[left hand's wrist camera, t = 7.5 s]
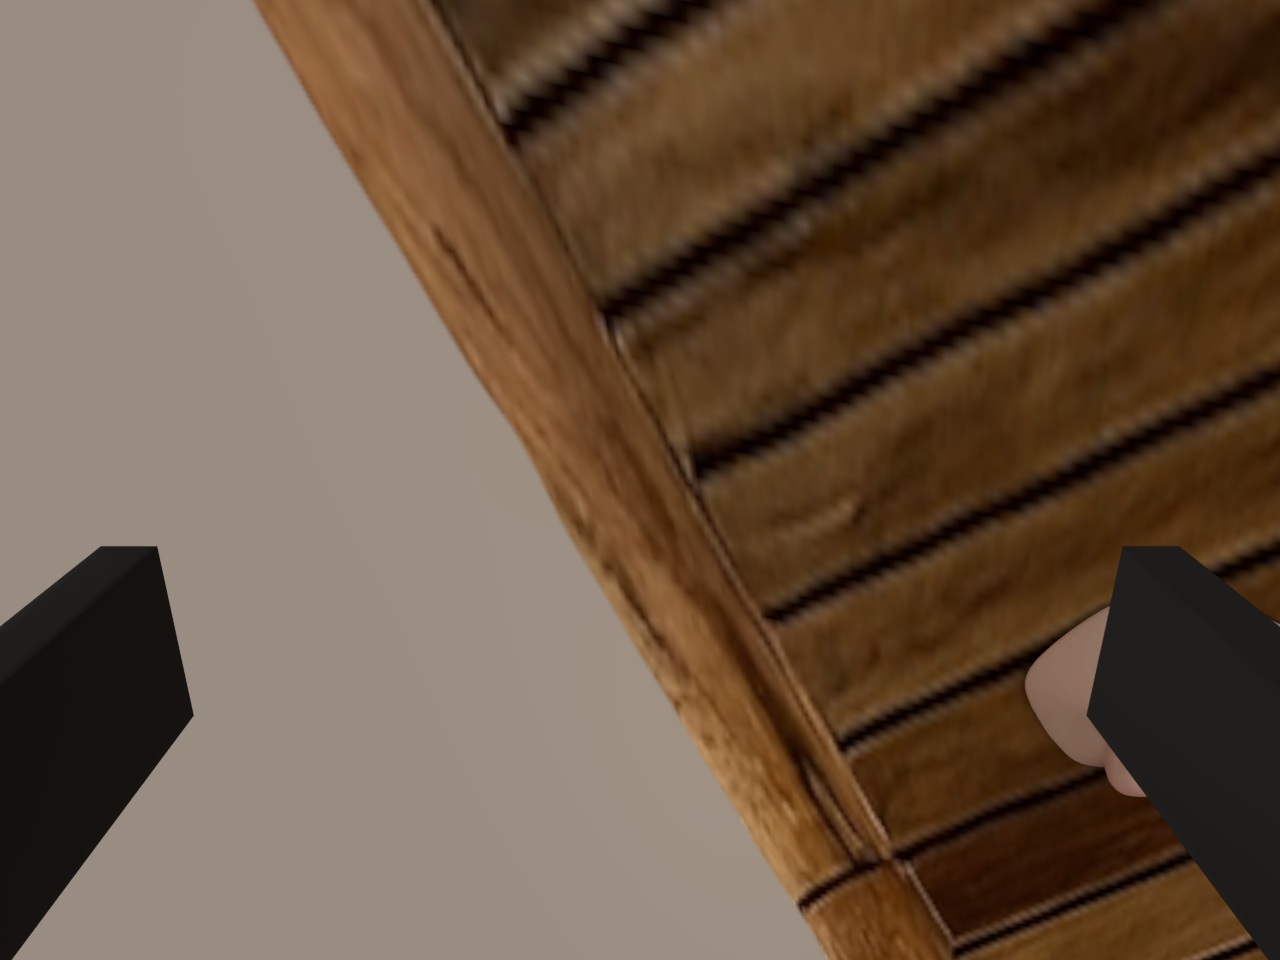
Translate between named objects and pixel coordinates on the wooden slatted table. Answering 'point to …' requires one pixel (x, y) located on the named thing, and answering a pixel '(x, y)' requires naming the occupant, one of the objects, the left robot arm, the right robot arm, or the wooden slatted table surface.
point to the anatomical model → (1076, 699)
